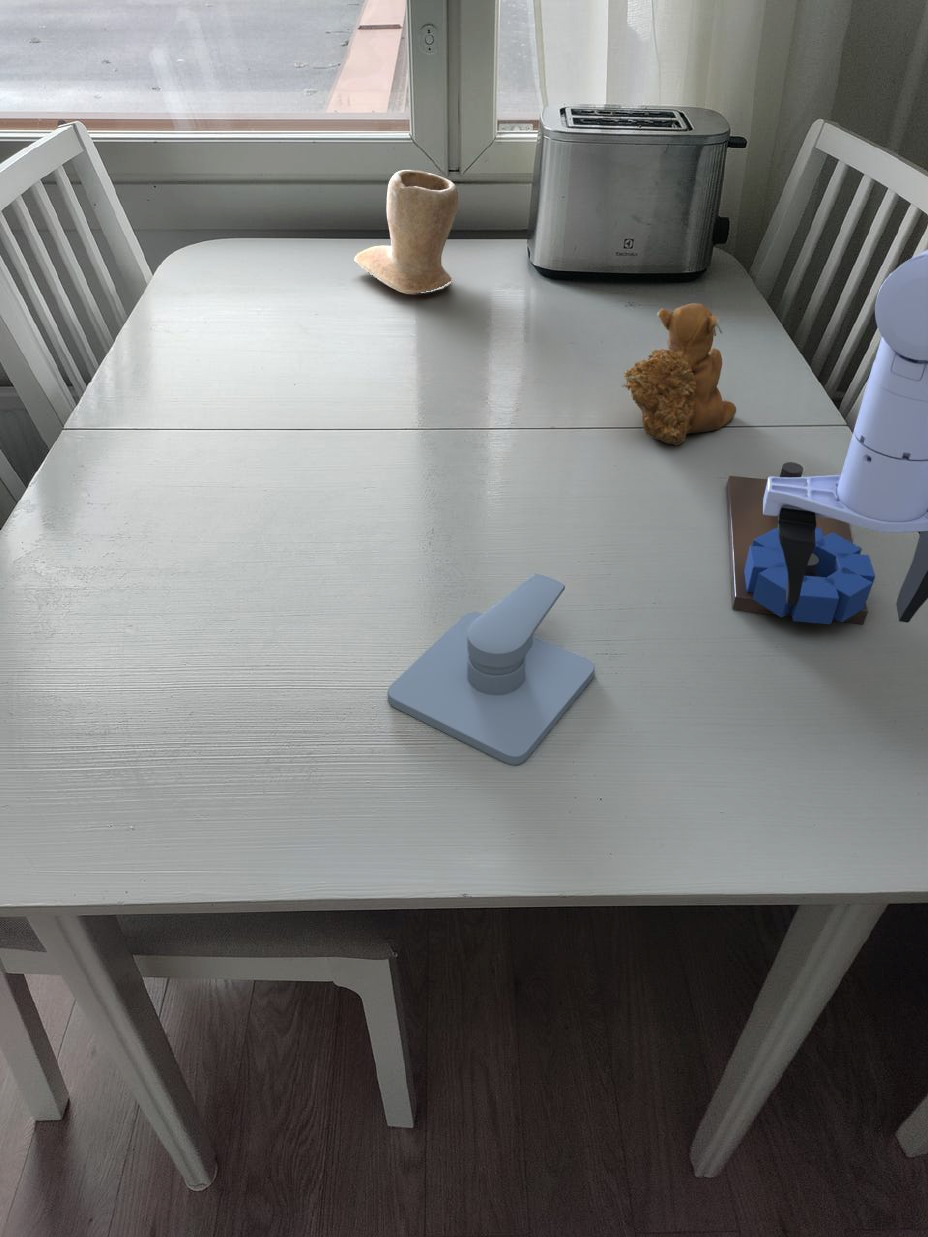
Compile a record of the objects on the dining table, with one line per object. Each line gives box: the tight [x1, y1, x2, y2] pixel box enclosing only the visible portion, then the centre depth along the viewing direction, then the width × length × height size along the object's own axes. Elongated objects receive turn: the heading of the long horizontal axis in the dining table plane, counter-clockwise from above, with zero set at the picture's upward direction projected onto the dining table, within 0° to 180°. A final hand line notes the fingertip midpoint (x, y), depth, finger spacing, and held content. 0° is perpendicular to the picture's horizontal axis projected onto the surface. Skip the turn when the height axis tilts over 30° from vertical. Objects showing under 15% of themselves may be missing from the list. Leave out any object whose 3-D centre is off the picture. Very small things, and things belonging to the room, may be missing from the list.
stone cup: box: [353, 169, 459, 295], centre depth 137 cm, size 15×12×15 cm
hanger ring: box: [744, 528, 876, 625], centre depth 82 cm, size 10×10×3 cm
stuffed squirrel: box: [621, 302, 737, 446], centre depth 104 cm, size 10×14×13 cm
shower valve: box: [387, 573, 596, 766], centre depth 75 cm, size 12×6×15 cm
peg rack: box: [725, 461, 869, 625], centre depth 89 cm, size 11×20×4 cm, turn 170°
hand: (846, 605), depth 69 cm, fingers open, 7 cm apart
